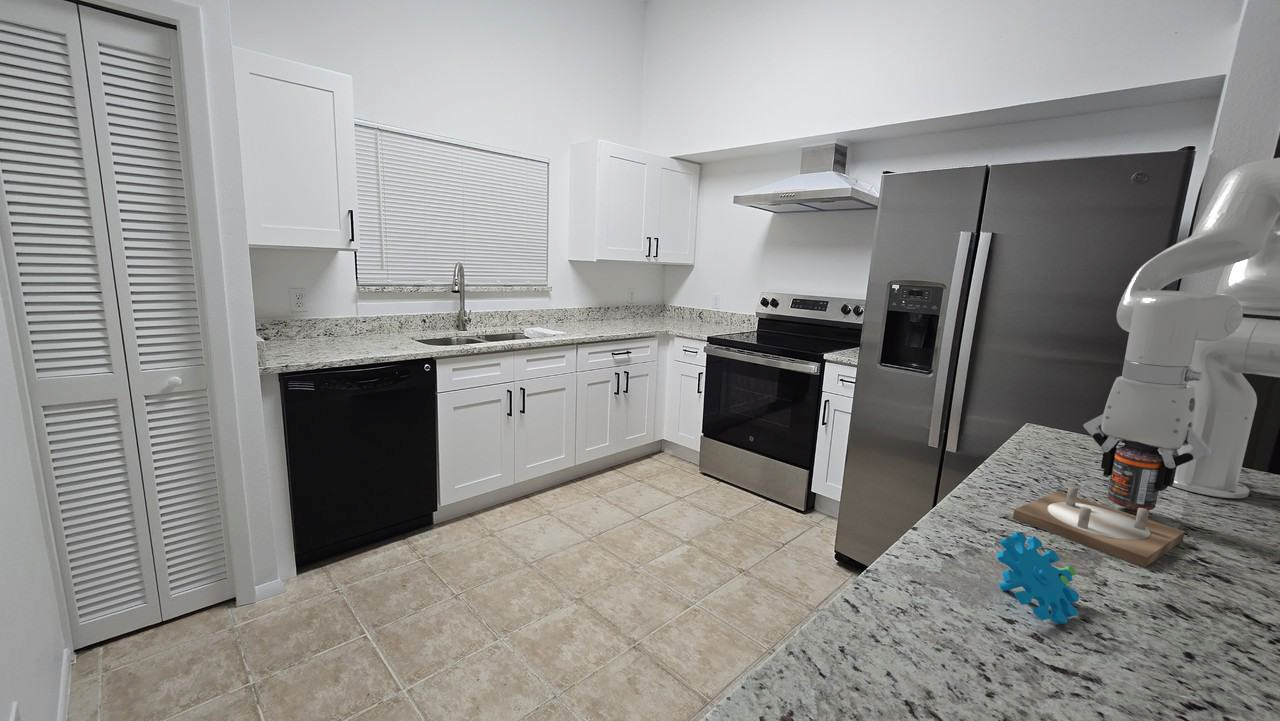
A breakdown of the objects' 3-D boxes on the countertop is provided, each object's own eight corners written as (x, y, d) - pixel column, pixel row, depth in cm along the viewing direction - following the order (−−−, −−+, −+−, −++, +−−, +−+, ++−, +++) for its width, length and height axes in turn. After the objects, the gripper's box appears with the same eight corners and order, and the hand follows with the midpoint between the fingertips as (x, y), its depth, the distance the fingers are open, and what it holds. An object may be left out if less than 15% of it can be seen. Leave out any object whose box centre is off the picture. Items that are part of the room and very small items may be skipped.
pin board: (1056, 499, 93) (1060, 474, 92) (1182, 540, 79) (1189, 512, 78) (1012, 518, 85) (1017, 491, 84) (1144, 567, 71) (1151, 536, 71)
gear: (1036, 623, 57) (992, 529, 63) (990, 633, 61) (954, 544, 67) (1107, 620, 60) (1060, 531, 66) (1059, 629, 65) (1019, 545, 70)
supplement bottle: (1097, 496, 91) (1107, 433, 89) (1129, 495, 92) (1140, 431, 89) (1131, 513, 85) (1143, 445, 83) (1165, 511, 86) (1178, 444, 84)
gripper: (1241, 381, 79) (1216, 496, 82) (1097, 362, 93) (1081, 460, 97) (1226, 388, 75) (1200, 507, 78) (1077, 366, 90) (1061, 468, 93)
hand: (1134, 480), depth 88 cm, fingers closed on supplement bottle, 6 cm apart
